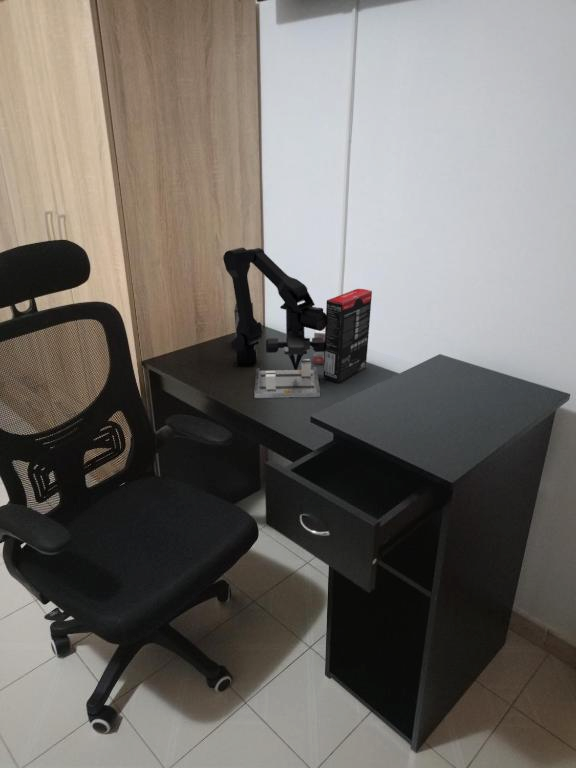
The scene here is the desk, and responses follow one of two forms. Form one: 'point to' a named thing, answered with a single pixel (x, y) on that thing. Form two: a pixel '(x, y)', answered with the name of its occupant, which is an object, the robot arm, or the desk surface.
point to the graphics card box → (346, 334)
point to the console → (288, 384)
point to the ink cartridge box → (319, 355)
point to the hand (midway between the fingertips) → (295, 369)
